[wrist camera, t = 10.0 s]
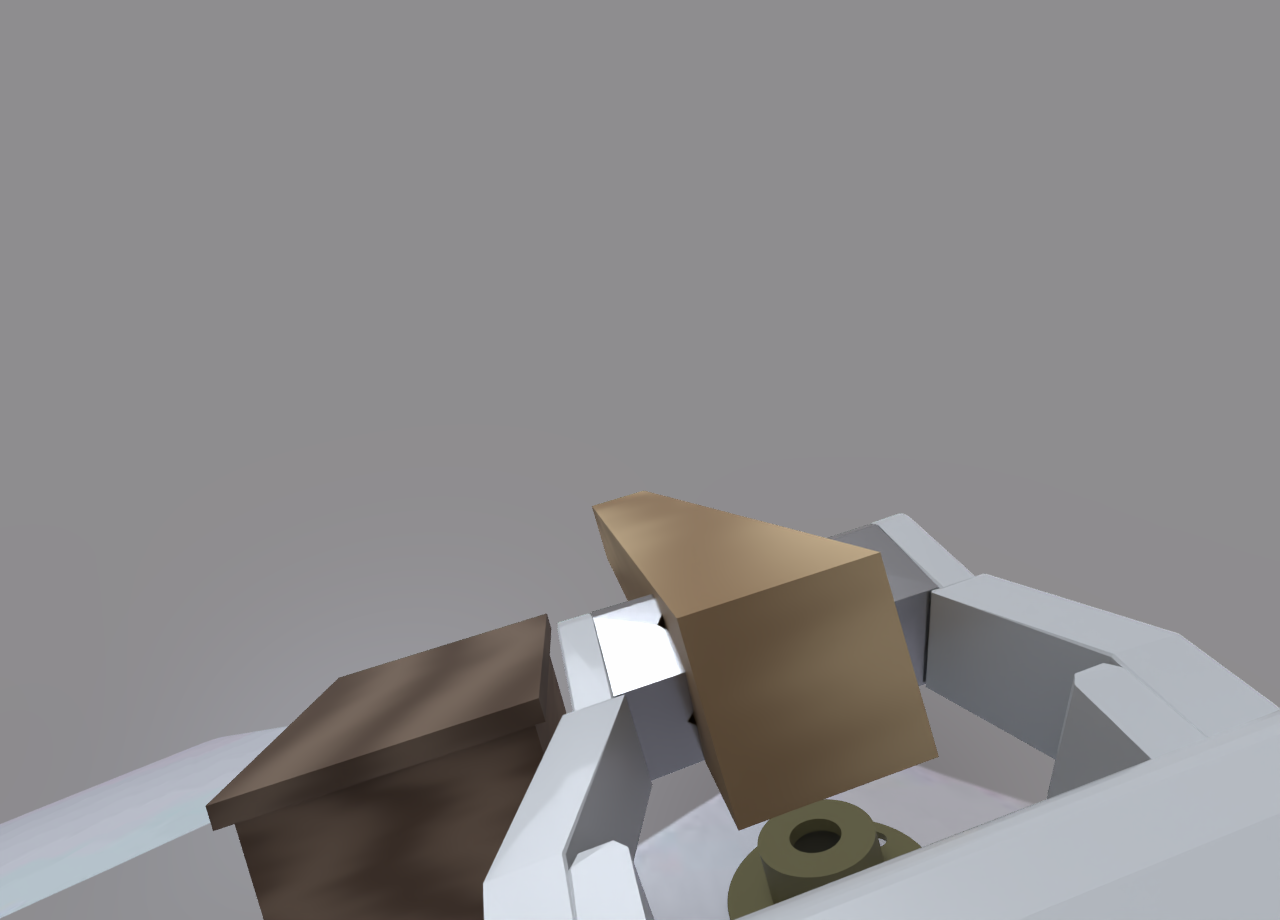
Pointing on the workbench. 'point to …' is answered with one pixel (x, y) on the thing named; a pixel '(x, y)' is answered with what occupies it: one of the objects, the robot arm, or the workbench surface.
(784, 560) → the oak rod
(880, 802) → the workbench surface
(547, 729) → the walnut stand
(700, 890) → the workbench surface
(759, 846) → the flange
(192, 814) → the workbench surface
